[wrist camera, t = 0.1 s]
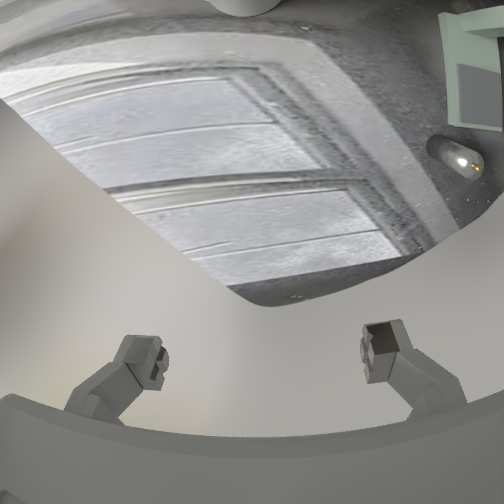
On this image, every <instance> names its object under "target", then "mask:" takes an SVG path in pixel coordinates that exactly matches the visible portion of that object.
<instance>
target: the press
mask: <svg viewBox="0 0 504 504" xmlns="http://www.w3.org/2000/svg"><path fill="white" fill-rule="evenodd" d="M438 19H439V25H440V31H441V37H442V44H443V52H444V60H445V70H446V83H447V101H448V124H450V125H453V126H457V127H468V128H477V129H485V130H493V131H500V132H502V82H501V69H500V59H499V50H498V43H497V37H504V6H497V7H492V8H486V9H481V10H476V11H471V12H467V13H462V14H458V15H454V14H451V13H447V12H443V13H440V14H438Z"/></svg>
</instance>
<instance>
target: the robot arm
mask: <svg viewBox="0 0 504 504" xmlns="http://www.w3.org/2000/svg"><path fill="white" fill-rule="evenodd" d="M204 1H208V2H209V3H211V4H212V5H213V6H214V7H215V8H217V9H218V10H220V11H222V12H224V13H226V14H229V15H233V16H239V17H248V16H255V15H259V14H262V13H265V12H267V11H269V10H271V9H272V8H274V7H275V6H276V5H277V4H278V3H279V2H280V1H281V0H204ZM362 332H363V336H364V337H363V338H362V339H361V344H360V352H361V358H362V362H363V363H364V364H366V365H365V370H364V372H365V376H366V380H367V384H371V383H379V382H385V381H388V383H389V384H390V385H391V386H392V387H393V388H394V389H395V390H396V391H397V392H398V393H399V394H400V395H401V397H403V399H404V400H405V401H406V402H407V403H408V404H409V405H410V406H411V407H412V408H413V410H412V411H411V413H410V415H409V417H408V418H407V420H406V421H403V422H398V423H393V424H388V425H383V426H378V427H372V428H366V429H360V430H353V431H346V432H338V433H329V434H319V435H306V436H291V437H256V438H255V437H217V436H202V435H189V434H179V433H171V432H163V431H155V430H148V429H142V428H136V427H130V426H125V425H124V423H123V422H122V421H120V419H119V418H118V417H119V416H120V414H121V413H122V412H123V411H124V410H125V409H126V408H127V407H128V406H129V405H130V404H131V403H132V402H133V401H134V400H135V399H136V398H137V397H138V396H139V395H140V394H141V393H142V392H143V390H157V391H161V388H162V385H163V382H164V376H163V373H164V372H165V371H167V369H168V366H169V356H168V353H167V350H166V349H165V348H163V347H162V346H161V345H162V340H161V338H160V337H158V336H145V335H126V336H125V337H124V339H123V341H122V343H121V345H120V347H119V349H118V352H117V354H116V356H115V358H114V360H113V362H109V363H108V364H106V365H105V366H104V367H102V368H101V369H100V370H99V371H97V372H96V373H95V374H93V375H92V376H91V377H90V378H88V379H87V380H85V381H84V382H83V383H81V384H80V385H79V386H78V387H76V388H75V389H74V390H73V391H72V394H71V396H70V398H69V400H68V402H67V404H66V406H65V408H64V410H59V409H56V408H52V407H50V406H47V405H44V404H41V403H38V402H35V401H32V400H29V399H27V398H24V397H21V396H19V395H16V394H8V395H6V396H4V397H3V398H1V399H0V504H504V390H502V391H500V392H497V393H494V394H492V395H490V396H487V397H484V398H481V399H479V400H476V401H473V402H470V403H467V400H466V398H465V395H464V392H463V390H462V387H461V385H460V382H459V380H458V378H457V377H455V376H454V375H452V374H451V373H450V372H448V371H447V370H446V369H444V368H443V367H442V366H440V365H439V364H437V363H436V362H435V361H433V360H432V359H431V358H429V357H428V356H426V355H425V354H424V353H422V352H421V351H419V350H418V349H413V347H412V344H411V341H410V339H409V337H408V334H407V332H406V329H405V327H404V325H403V322H402V320H400V319H398V320H391V321H384V322H378V323H370V324H364V326H363V330H362Z"/></svg>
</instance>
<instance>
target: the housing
mask: <svg viewBox="0 0 504 504" xmlns="http://www.w3.org/2000/svg"><path fill="white" fill-rule="evenodd" d="M426 149H427V152H428V154H429V155H430V156H431V157H432V158H434V159H436V160H438V161H439V162H441V163H443V164H445V165H446V166H448V167H450V168H451V169H453V170H455V171H456V172H458V173H459V174H461V175H463V176H464V177H466V178H467V179H469V180H476V179H477V178H479V177H480V175H481V174H482V172H483V169H484V161H483V158H482V156H481V155H480V154H479V153H478V152H476V151H473V150H471V149H469V148H467V147H465V146H463V145H460V144H458V143H456V142H454V141H451V140H449V139H446V138H444V137H442V136H439V135H433V136H431V137H430V138H429V139H428V141H427V144H426Z"/></svg>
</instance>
